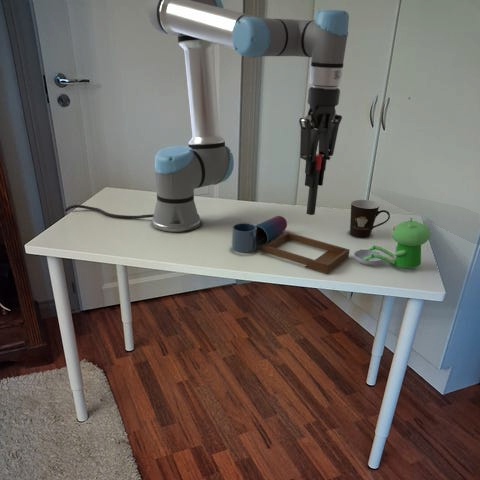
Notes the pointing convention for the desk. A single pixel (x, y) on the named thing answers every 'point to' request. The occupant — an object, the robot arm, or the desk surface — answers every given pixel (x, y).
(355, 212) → the coffee mug
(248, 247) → the pen cup
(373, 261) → the shallow grey dish
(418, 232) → the toy character
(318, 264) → the pen tray
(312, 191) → the marker
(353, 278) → the desk surface
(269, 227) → the cup
